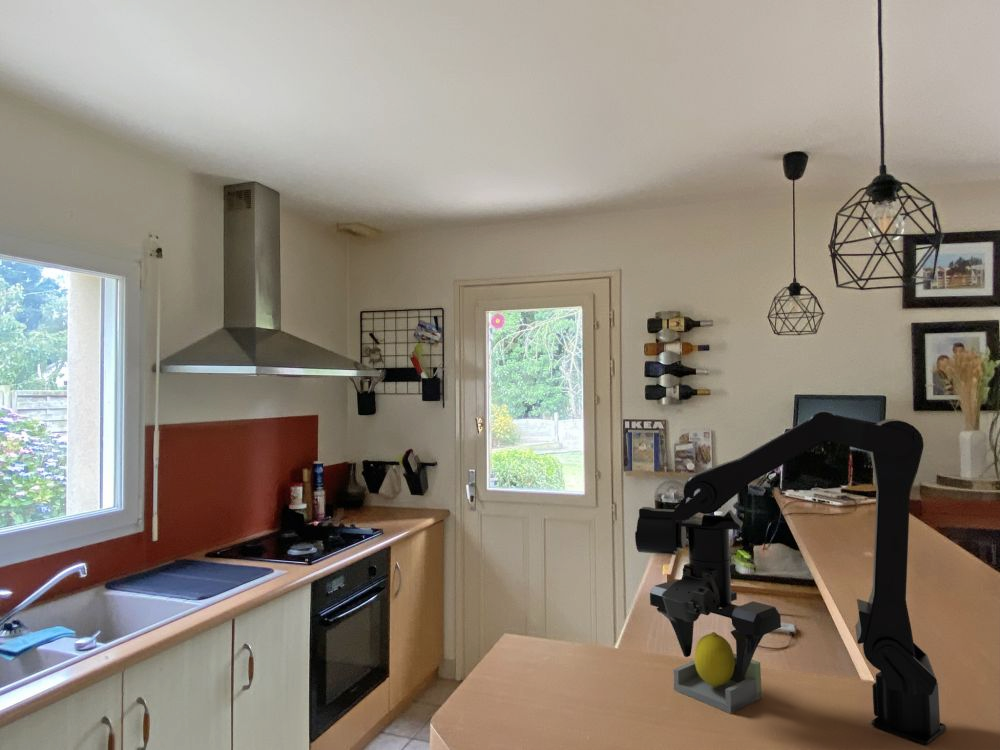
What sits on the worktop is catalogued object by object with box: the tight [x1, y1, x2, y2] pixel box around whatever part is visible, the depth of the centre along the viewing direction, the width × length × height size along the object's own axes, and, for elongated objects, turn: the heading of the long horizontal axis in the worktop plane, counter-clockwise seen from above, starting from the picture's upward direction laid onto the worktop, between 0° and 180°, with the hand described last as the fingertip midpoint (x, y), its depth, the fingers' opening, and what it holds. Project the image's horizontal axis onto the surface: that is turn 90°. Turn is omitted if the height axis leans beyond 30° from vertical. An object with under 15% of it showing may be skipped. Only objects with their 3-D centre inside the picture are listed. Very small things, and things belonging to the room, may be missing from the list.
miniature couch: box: [673, 652, 763, 714], centre depth 96 cm, size 10×8×5 cm
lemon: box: [694, 631, 735, 688], centre depth 95 cm, size 6×6×8 cm
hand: (713, 665), depth 96 cm, fingers open, 9 cm apart
